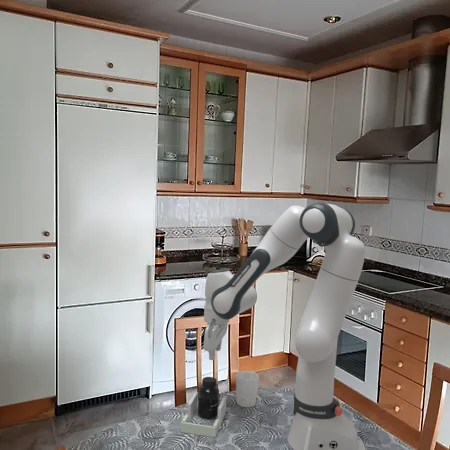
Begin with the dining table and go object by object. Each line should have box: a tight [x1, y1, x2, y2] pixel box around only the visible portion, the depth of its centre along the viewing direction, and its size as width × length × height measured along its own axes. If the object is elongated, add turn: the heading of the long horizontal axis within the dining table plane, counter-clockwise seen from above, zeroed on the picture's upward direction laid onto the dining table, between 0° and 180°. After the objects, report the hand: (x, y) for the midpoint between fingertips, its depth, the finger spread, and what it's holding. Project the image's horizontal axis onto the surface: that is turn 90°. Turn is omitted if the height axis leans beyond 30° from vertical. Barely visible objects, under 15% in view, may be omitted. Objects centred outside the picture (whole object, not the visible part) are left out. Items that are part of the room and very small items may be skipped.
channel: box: [186, 392, 227, 426], centre depth 143 cm, size 11×8×6 cm
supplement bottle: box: [197, 376, 220, 420], centre depth 144 cm, size 7×7×12 cm
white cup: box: [235, 370, 260, 408], centre depth 153 cm, size 8×8×10 cm
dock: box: [180, 414, 220, 438], centre depth 134 cm, size 11×5×3 cm, turn 78°
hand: (215, 354), depth 151 cm, fingers open, 7 cm apart
